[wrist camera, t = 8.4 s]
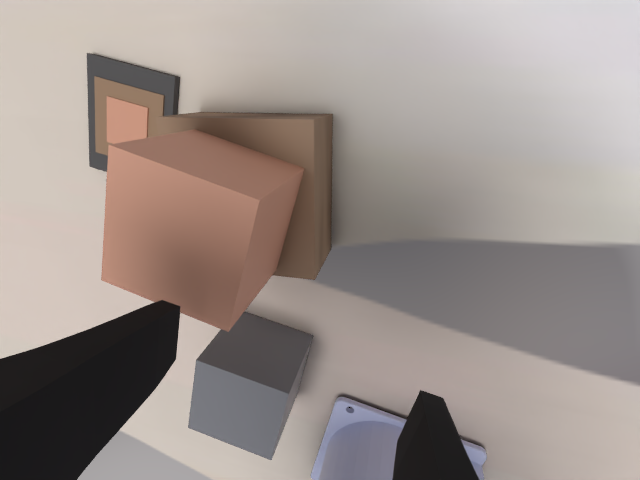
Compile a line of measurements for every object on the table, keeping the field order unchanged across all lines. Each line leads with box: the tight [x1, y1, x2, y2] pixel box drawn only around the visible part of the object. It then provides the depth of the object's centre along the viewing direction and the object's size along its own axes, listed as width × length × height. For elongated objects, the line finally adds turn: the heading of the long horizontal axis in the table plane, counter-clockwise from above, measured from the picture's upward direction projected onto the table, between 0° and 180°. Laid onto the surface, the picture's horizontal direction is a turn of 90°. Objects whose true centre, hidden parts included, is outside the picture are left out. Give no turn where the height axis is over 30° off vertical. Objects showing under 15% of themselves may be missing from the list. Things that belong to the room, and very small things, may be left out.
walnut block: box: [156, 112, 333, 280], centre depth 19 cm, size 7×7×4 cm
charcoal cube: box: [188, 312, 313, 460], centre depth 22 cm, size 5×5×5 cm
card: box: [87, 53, 180, 172], centre depth 20 cm, size 5×6×1 cm
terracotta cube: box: [101, 129, 305, 332], centre depth 15 cm, size 5×5×5 cm
